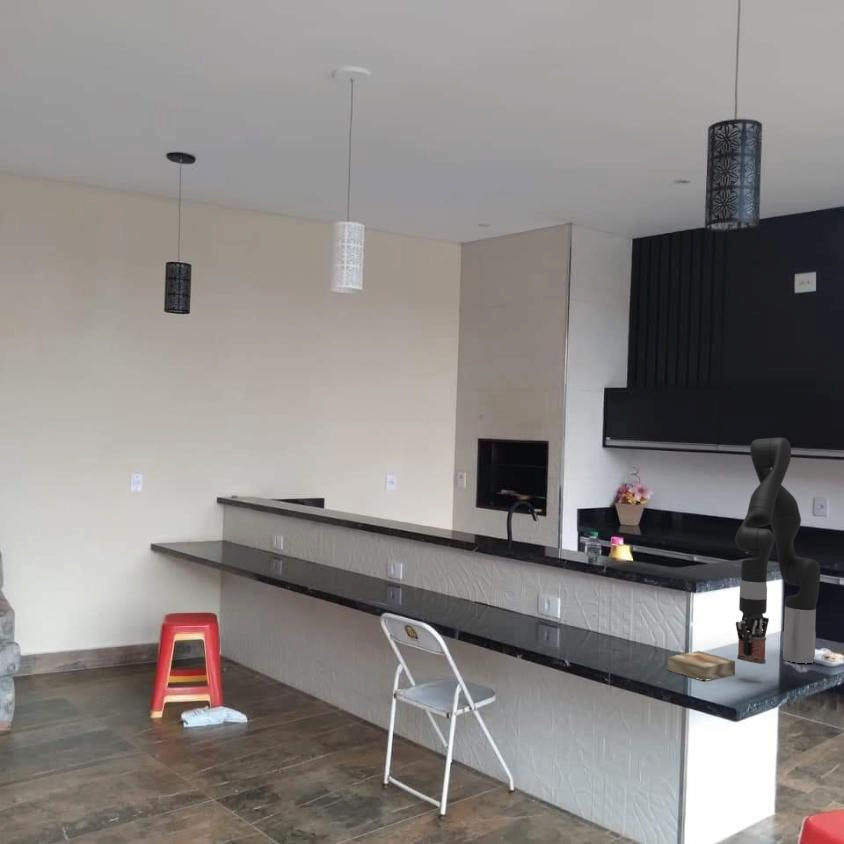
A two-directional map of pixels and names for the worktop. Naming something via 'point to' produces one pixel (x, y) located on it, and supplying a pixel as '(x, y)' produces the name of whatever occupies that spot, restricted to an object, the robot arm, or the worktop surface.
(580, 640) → the worktop surface
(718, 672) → the dock
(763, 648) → the lighter
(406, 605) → the worktop surface
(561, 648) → the worktop surface
